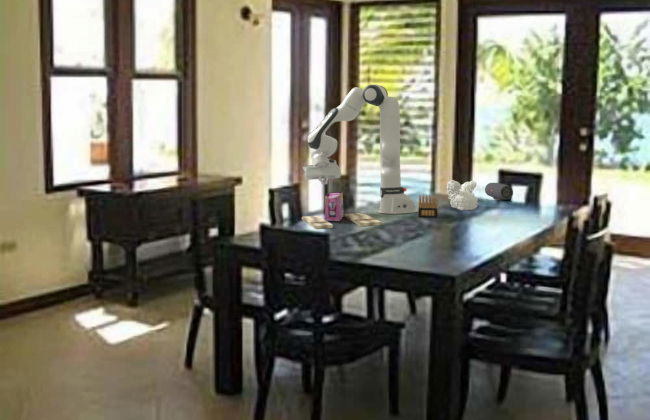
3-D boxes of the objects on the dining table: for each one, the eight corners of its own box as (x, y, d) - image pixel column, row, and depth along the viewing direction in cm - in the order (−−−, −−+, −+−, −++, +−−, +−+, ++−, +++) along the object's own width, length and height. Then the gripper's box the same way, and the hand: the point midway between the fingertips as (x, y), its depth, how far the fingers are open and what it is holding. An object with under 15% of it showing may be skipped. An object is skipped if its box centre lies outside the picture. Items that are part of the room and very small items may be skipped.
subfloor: (363, 215, 491) (363, 212, 491) (381, 224, 452) (381, 221, 452) (301, 219, 485) (301, 216, 485) (315, 228, 446) (315, 225, 446)
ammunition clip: (438, 217, 474) (438, 194, 473) (437, 217, 472) (437, 195, 471) (419, 217, 478) (418, 194, 477) (418, 217, 477) (417, 194, 475)
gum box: (340, 222, 469) (339, 196, 468) (324, 222, 470) (324, 196, 469) (343, 216, 493) (342, 191, 491) (329, 216, 494) (328, 192, 492)
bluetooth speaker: (483, 198, 557) (483, 182, 556) (497, 197, 560) (497, 181, 558) (499, 201, 536) (499, 185, 534) (514, 201, 538) (513, 184, 537)
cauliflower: (468, 195, 492) (447, 174, 505) (454, 224, 502) (434, 203, 515) (493, 194, 502) (472, 174, 515) (479, 222, 512) (459, 202, 525)
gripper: (303, 162, 505) (306, 180, 496) (338, 160, 509) (343, 178, 500) (302, 169, 510) (305, 188, 501) (337, 167, 514) (341, 186, 505)
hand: (324, 183), depth 501 cm, fingers closed
